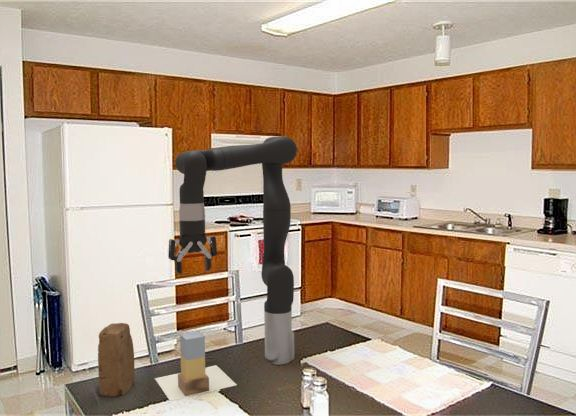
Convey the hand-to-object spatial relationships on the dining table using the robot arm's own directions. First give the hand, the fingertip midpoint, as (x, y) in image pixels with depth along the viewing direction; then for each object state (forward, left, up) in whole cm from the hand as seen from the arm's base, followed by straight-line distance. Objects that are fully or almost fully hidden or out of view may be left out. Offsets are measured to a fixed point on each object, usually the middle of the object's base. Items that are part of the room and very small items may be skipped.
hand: (193, 272), depth 149 cm
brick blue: (+3, +6, -23) cm, 24 cm away
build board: (+1, +2, -34) cm, 34 cm away
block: (+22, -5, -34) cm, 41 cm away
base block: (+3, +6, -33) cm, 34 cm away
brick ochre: (+3, +6, -29) cm, 30 cm away
